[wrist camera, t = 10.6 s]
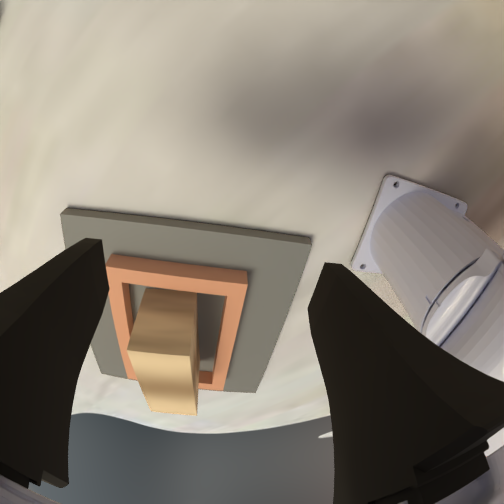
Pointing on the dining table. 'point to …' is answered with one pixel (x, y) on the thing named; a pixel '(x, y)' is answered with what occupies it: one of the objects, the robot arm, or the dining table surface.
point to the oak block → (167, 350)
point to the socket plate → (195, 288)
